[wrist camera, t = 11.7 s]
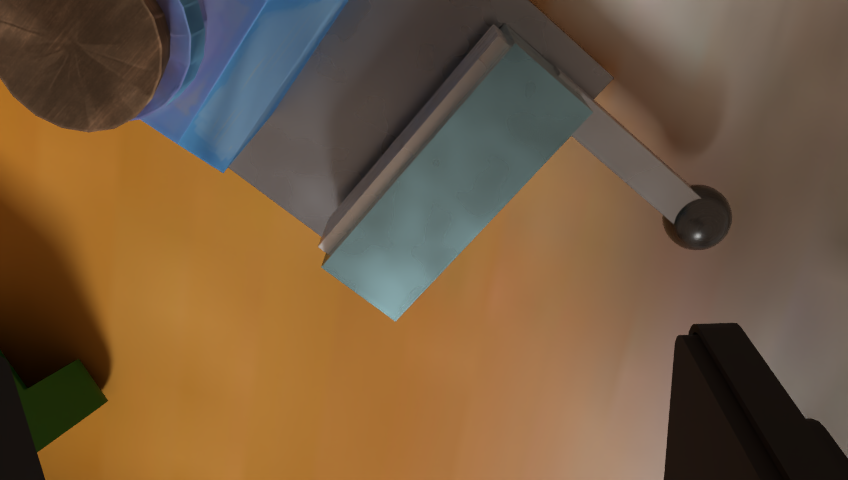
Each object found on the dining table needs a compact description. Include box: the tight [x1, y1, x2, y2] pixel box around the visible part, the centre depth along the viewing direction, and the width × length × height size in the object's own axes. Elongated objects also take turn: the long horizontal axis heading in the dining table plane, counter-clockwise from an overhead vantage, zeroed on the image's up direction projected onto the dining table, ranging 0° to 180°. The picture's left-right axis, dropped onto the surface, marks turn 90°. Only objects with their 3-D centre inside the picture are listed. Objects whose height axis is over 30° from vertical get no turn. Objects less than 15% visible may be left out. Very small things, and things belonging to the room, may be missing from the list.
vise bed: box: [228, 0, 613, 237], centre depth 23 cm, size 20×11×5 cm, turn 50°
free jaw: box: [318, 24, 732, 321], centre depth 25 cm, size 10×10×4 cm
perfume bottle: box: [0, 0, 348, 173], centre depth 19 cm, size 6×6×12 cm
